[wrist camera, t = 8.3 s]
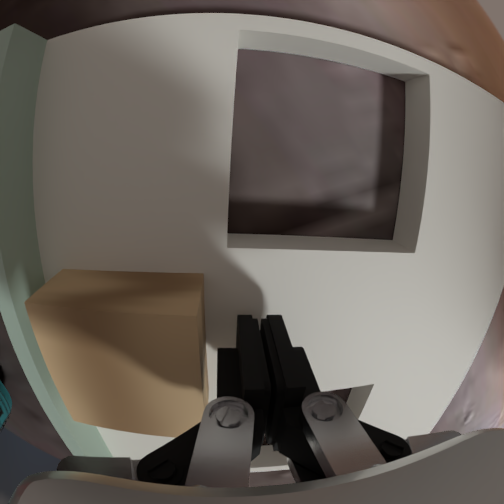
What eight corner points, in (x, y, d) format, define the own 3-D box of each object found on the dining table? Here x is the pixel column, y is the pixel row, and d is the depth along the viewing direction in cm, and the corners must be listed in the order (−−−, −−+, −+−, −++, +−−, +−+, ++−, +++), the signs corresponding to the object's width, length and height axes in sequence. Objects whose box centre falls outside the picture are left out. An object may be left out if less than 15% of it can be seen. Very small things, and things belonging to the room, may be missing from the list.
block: (203, 273, 10) (197, 315, 8) (208, 389, 12) (207, 439, 10) (62, 268, 10) (24, 302, 7) (92, 378, 12) (73, 420, 9)
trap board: (504, 118, 11) (555, 121, 7) (418, 420, 19) (439, 454, 15) (51, 56, 8) (-3, 32, 4) (109, 439, 16) (97, 484, 12)
